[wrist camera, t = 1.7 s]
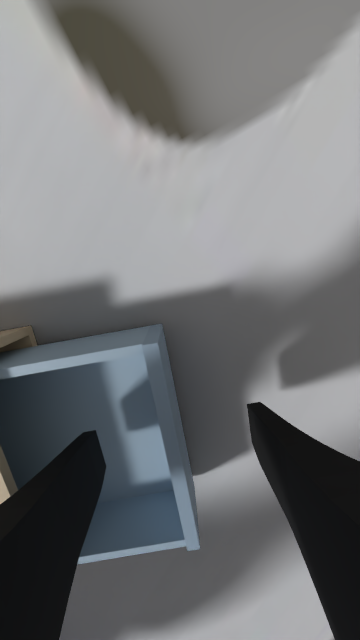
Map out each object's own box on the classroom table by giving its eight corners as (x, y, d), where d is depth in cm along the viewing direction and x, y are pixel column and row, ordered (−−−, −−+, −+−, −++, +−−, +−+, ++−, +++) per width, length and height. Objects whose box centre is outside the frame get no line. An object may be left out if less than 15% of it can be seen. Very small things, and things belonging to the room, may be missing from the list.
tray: (194, 486, 14) (200, 549, 11) (-86, 533, 14) (-160, 608, 11) (162, 323, 12) (157, 342, 9) (-166, 381, 12) (-285, 421, 9)
